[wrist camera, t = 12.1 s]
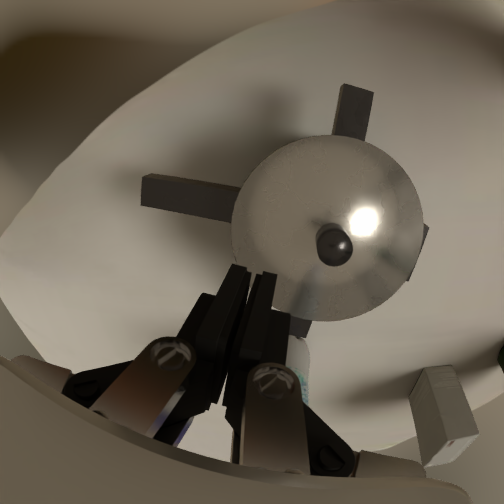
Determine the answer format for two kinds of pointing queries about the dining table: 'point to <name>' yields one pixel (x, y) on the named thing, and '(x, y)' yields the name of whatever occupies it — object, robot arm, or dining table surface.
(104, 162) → the dining table surface
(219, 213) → the cooker
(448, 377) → the skincare box
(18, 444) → the robot arm
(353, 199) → the lid
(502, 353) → the bottle
